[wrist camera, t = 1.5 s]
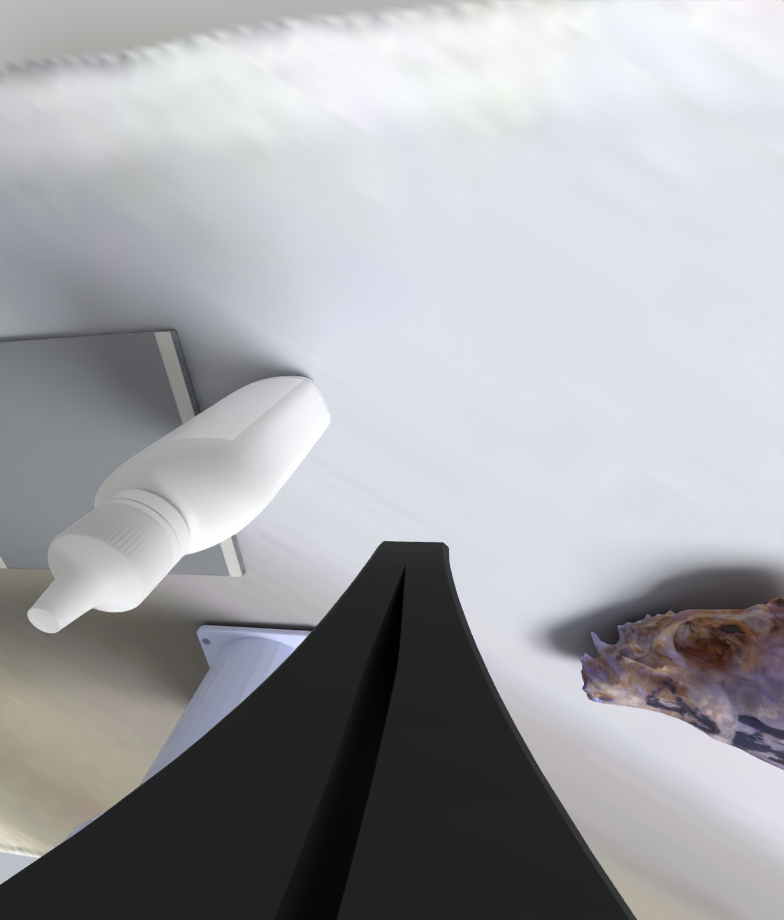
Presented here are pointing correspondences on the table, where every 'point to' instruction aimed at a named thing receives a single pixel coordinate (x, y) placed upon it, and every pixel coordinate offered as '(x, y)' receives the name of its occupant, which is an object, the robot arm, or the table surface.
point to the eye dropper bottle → (181, 498)
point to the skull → (701, 673)
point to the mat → (86, 434)
